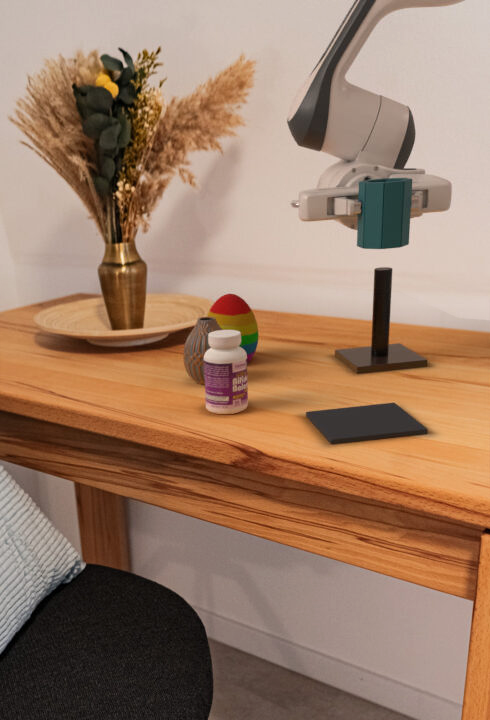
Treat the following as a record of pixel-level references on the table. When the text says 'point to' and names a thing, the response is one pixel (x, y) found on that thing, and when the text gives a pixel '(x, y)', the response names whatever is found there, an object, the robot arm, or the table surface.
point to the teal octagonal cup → (384, 213)
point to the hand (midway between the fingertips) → (386, 205)
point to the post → (380, 336)
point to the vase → (198, 348)
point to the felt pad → (365, 423)
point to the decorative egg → (237, 320)
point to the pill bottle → (225, 373)
